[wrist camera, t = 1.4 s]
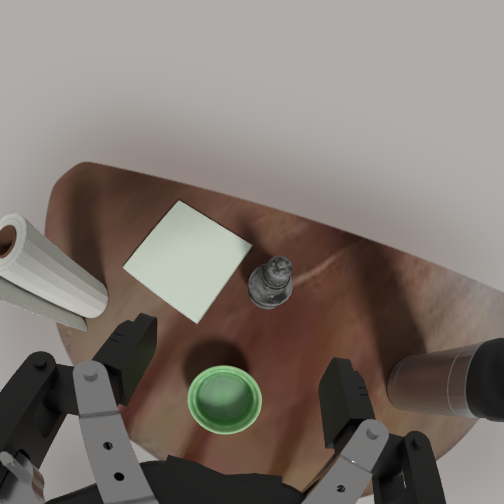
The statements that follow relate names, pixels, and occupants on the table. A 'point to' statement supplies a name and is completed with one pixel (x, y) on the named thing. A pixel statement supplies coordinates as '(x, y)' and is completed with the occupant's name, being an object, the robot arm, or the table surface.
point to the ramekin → (224, 399)
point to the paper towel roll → (45, 277)
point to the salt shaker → (271, 283)
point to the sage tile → (187, 260)
